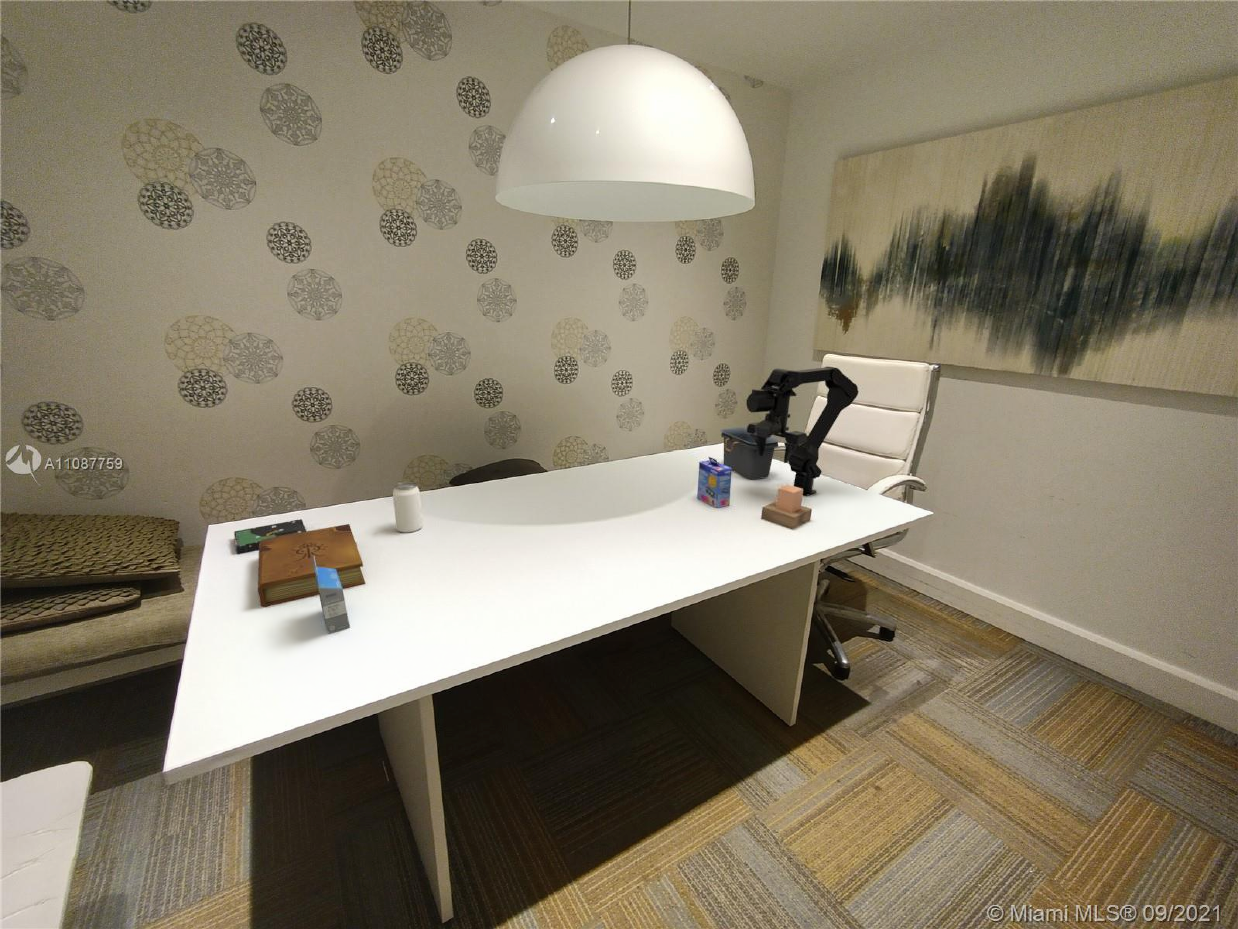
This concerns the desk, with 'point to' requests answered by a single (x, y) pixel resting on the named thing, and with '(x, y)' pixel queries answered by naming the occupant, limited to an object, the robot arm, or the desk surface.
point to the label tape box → (331, 599)
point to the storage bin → (747, 453)
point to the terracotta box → (789, 498)
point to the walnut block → (786, 516)
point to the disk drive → (264, 534)
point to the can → (407, 507)
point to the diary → (306, 563)
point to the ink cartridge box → (714, 483)
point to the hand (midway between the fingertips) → (773, 459)
